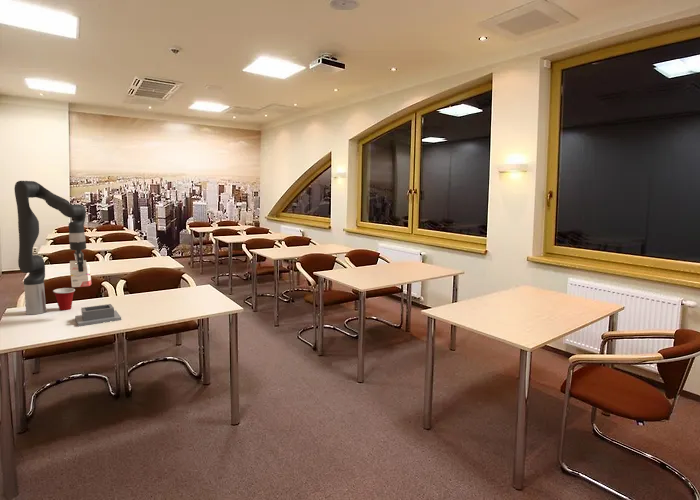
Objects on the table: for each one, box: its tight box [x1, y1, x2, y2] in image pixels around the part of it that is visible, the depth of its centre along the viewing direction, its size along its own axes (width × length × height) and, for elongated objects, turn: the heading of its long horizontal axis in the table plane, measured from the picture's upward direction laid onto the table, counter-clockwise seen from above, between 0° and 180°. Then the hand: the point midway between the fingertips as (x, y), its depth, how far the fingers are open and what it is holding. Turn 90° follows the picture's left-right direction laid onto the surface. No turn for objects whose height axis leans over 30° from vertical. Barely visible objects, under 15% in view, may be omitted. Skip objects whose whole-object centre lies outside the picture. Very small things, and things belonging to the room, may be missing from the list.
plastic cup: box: [52, 287, 76, 311], centre depth 248 cm, size 11×11×12 cm
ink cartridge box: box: [69, 259, 92, 288], centre depth 232 cm, size 9×5×15 cm, turn 106°
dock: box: [75, 303, 122, 327], centre depth 231 cm, size 20×17×6 cm
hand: (80, 270), depth 232 cm, fingers closed on ink cartridge box, 6 cm apart
